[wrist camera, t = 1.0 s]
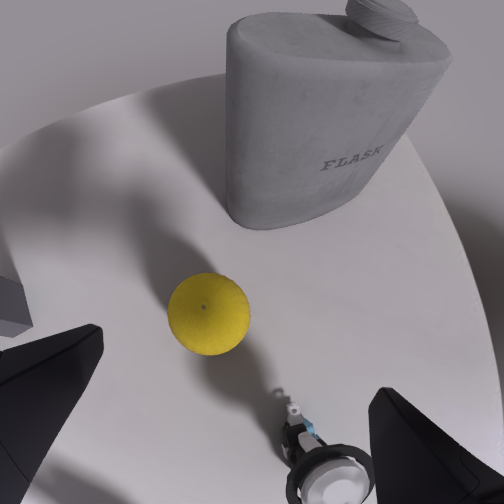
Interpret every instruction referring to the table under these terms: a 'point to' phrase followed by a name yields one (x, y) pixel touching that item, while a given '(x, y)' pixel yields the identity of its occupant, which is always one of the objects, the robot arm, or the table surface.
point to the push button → (323, 466)
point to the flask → (320, 105)
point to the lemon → (208, 314)
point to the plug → (13, 309)
